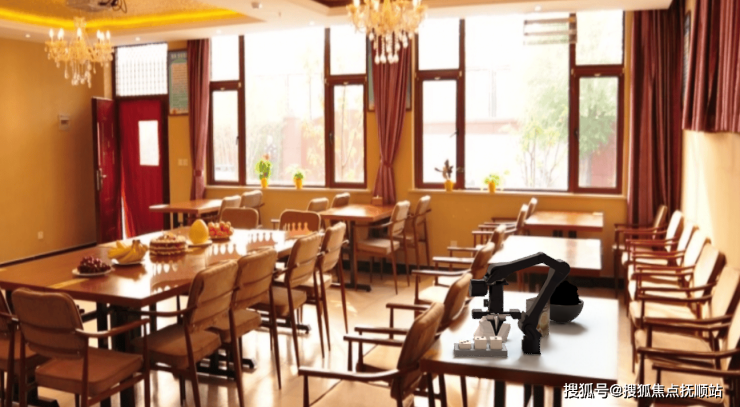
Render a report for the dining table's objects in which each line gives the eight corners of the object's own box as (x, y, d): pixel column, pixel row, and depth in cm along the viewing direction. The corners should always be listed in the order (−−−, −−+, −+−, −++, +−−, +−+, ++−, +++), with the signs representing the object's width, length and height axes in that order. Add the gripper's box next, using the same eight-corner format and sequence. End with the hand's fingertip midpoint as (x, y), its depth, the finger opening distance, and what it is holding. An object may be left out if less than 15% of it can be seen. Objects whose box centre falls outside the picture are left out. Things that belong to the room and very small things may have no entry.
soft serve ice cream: (509, 348, 272) (505, 317, 268) (472, 348, 277) (468, 318, 272) (511, 332, 283) (507, 302, 279) (475, 333, 288) (472, 303, 284)
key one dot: (500, 346, 264) (500, 336, 263) (502, 350, 259) (502, 339, 259) (489, 346, 264) (489, 336, 264) (490, 349, 260) (490, 339, 259)
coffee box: (538, 339, 278) (538, 302, 277) (524, 336, 283) (525, 299, 281) (549, 335, 285) (550, 298, 283) (536, 332, 289) (537, 295, 288)
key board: (504, 349, 266) (504, 343, 266) (507, 356, 257) (507, 350, 257) (454, 349, 268) (454, 343, 267) (455, 356, 259) (455, 350, 258)
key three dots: (470, 350, 265) (470, 339, 264) (470, 353, 260) (470, 343, 260) (458, 350, 265) (458, 339, 265) (459, 353, 261) (459, 343, 260)
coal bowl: (590, 321, 305) (591, 280, 303) (571, 331, 290) (571, 288, 289) (550, 314, 318) (550, 275, 317) (529, 323, 304) (530, 282, 302)
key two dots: (485, 346, 264) (485, 336, 264) (486, 349, 260) (486, 339, 259) (474, 346, 265) (474, 335, 264) (475, 349, 260) (475, 339, 260)
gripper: (517, 291, 267) (517, 329, 269) (470, 291, 269) (470, 329, 270) (521, 298, 256) (521, 338, 257) (472, 298, 257) (472, 337, 259)
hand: (496, 335), depth 261 cm, fingers closed
